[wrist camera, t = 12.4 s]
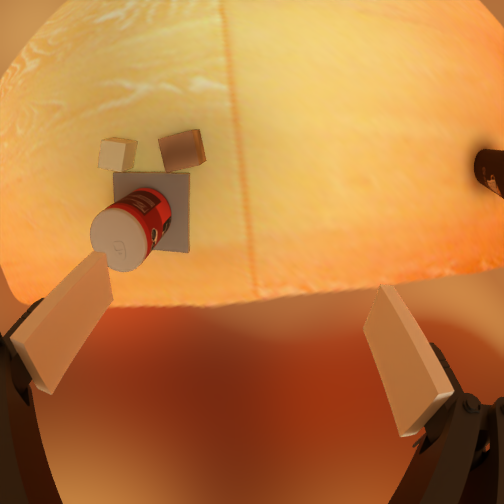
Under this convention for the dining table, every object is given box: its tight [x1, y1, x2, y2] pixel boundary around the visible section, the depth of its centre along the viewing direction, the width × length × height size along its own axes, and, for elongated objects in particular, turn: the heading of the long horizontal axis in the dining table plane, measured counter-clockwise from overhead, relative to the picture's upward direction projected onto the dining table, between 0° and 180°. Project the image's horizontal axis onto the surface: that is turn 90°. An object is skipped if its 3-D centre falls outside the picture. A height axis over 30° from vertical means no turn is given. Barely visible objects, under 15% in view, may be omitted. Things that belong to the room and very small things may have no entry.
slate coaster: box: [113, 172, 190, 253], centre depth 40 cm, size 12×12×1 cm
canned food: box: [90, 188, 171, 272], centre depth 35 cm, size 8×8×11 cm
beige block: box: [98, 138, 138, 172], centre depth 35 cm, size 4×4×4 cm
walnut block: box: [158, 129, 206, 173], centre depth 35 cm, size 4×4×4 cm
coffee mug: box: [474, 149, 504, 199], centre depth 30 cm, size 12×9×10 cm
